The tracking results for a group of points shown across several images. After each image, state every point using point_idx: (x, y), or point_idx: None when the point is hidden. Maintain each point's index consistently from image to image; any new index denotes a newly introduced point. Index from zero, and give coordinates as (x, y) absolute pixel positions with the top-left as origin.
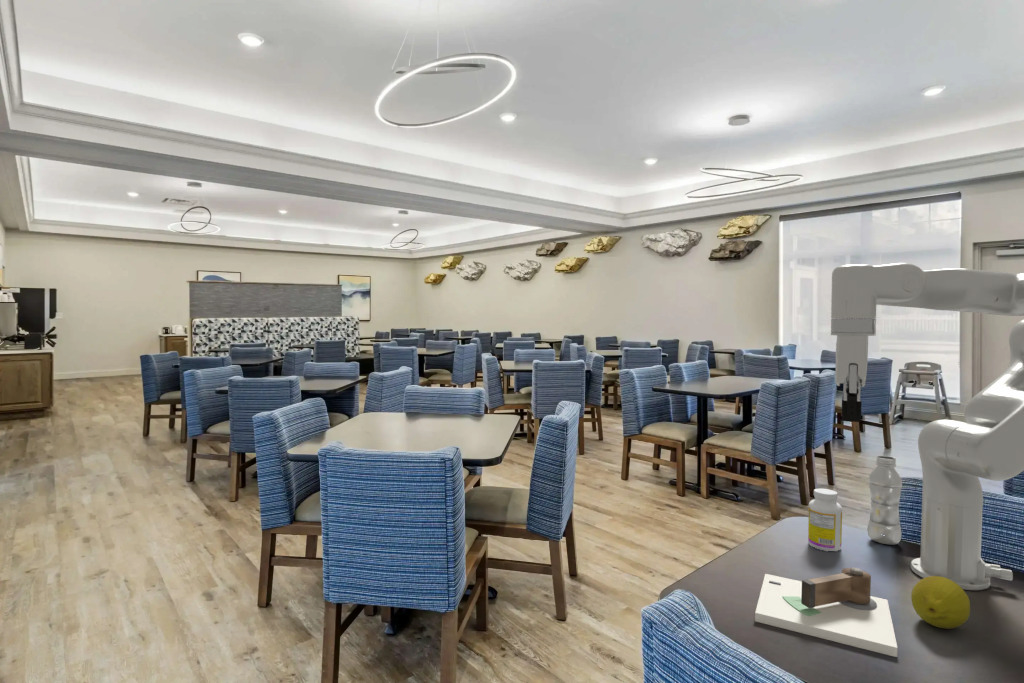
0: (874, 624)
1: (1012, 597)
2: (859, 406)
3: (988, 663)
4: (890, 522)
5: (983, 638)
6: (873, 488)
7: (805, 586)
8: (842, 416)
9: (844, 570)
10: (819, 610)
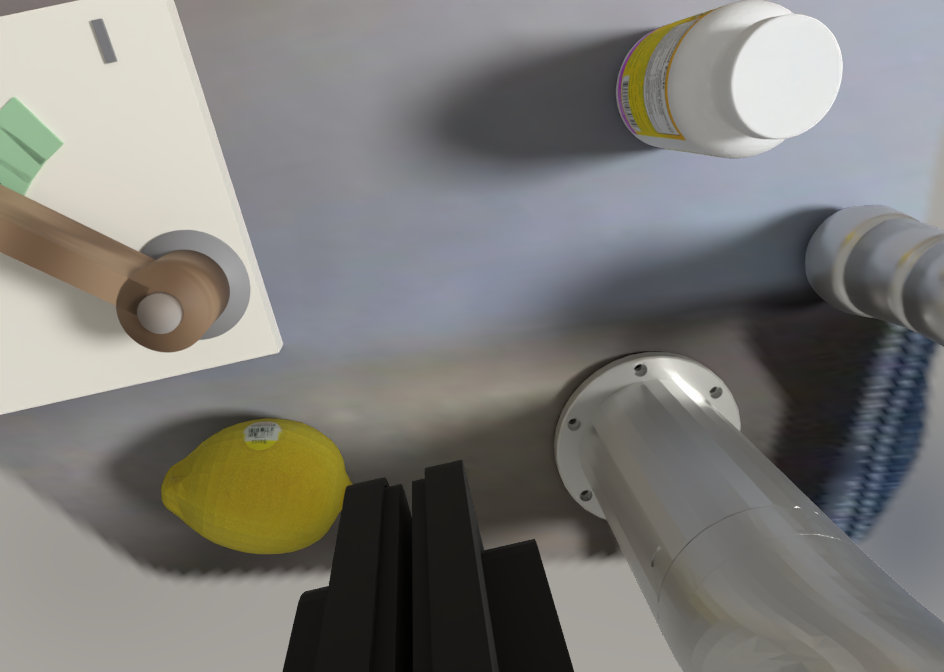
0: (78, 353)
1: (594, 555)
2: None
3: (163, 543)
4: (857, 298)
5: None
6: None
7: None
8: (344, 516)
9: (154, 276)
10: None
